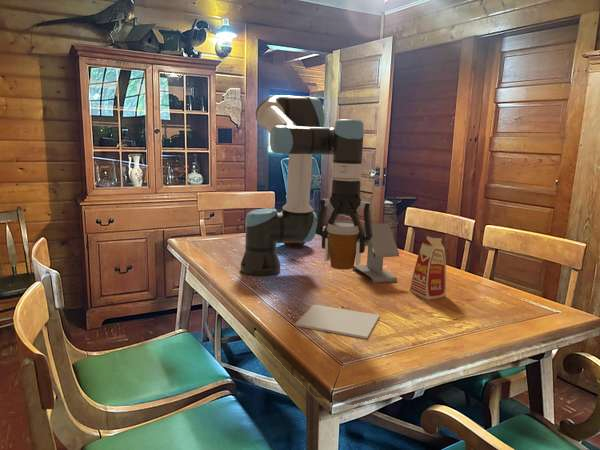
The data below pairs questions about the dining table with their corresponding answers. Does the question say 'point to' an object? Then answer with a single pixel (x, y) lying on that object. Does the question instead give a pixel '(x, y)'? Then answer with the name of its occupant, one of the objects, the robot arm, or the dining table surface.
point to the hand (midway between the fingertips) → (342, 262)
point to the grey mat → (338, 321)
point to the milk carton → (430, 270)
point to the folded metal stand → (379, 253)
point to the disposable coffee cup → (342, 244)
